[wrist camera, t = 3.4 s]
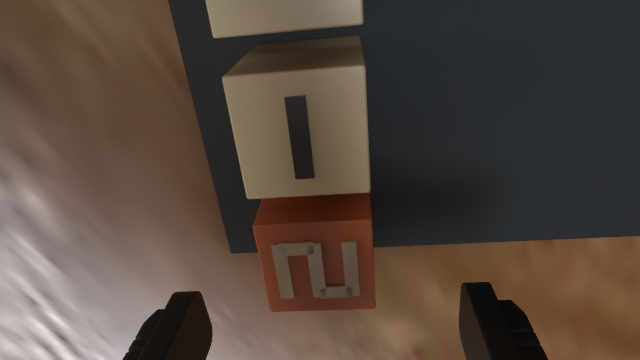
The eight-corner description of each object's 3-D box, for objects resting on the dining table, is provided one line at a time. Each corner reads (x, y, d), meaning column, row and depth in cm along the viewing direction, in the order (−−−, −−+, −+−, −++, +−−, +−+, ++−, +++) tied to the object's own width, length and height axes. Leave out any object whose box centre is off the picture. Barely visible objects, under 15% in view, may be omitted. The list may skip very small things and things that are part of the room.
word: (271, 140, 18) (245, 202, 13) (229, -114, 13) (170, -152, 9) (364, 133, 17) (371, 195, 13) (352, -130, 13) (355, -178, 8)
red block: (286, 234, 20) (269, 314, 15) (274, 161, 18) (251, 227, 14) (368, 231, 19) (376, 311, 15) (365, 155, 18) (372, 221, 13)
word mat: (232, 248, 21) (230, 253, 21) (138, -138, 13) (132, -140, 13) (835, 222, 18) (845, 227, 18) (1134, -274, 11) (1160, -282, 11)
